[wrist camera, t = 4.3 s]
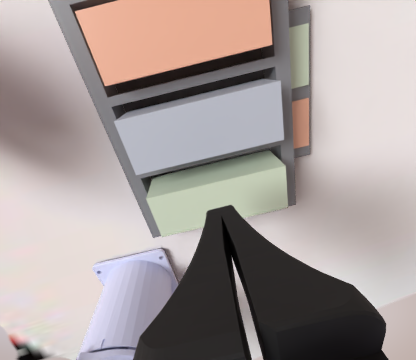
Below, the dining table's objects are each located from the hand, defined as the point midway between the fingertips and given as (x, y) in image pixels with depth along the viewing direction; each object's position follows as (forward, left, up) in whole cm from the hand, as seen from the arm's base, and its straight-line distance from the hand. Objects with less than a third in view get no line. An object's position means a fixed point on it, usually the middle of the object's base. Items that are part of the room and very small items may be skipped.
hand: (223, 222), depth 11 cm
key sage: (-2, 0, -8) cm, 8 cm away
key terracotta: (+9, 0, -9) cm, 13 cm away
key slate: (+4, 0, -8) cm, 9 cm away
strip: (+4, -8, -9) cm, 13 cm away
